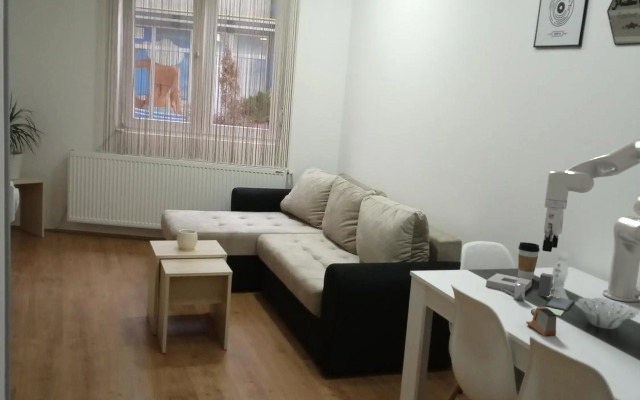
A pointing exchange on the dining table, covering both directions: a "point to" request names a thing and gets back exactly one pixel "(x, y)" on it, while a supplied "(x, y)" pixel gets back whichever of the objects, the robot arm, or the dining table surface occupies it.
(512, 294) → the cable
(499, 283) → the plate
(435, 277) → the dining table surface
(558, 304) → the phone
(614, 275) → the robot arm
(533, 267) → the coffee cup
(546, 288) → the charger
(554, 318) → the electronic device
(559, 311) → the pad
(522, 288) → the plug
